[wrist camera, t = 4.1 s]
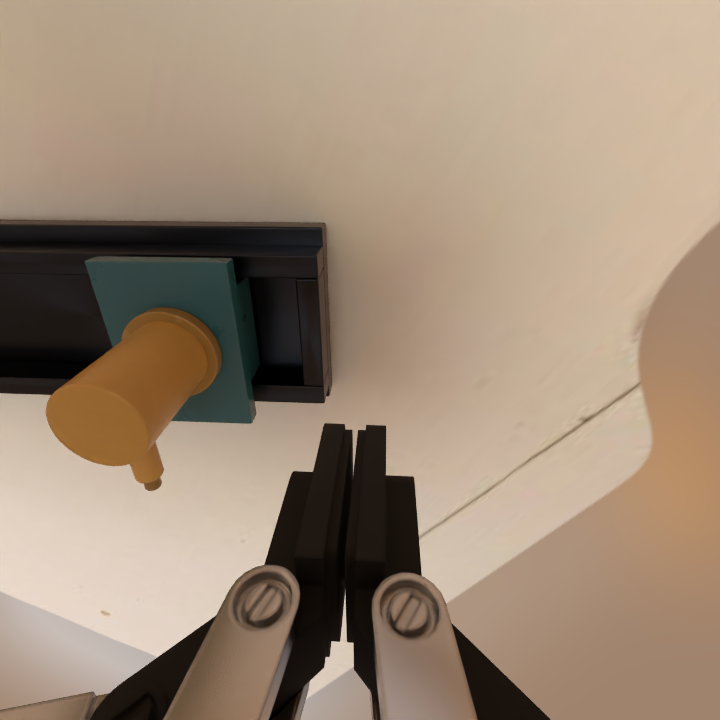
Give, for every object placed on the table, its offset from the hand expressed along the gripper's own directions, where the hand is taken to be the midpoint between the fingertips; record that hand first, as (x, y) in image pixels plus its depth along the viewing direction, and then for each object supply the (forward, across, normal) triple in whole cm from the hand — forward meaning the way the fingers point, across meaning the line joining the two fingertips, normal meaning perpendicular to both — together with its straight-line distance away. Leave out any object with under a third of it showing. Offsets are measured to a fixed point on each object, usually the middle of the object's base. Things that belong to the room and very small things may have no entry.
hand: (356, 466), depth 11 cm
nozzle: (+10, +8, 0) cm, 13 cm away
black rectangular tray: (+11, +14, 0) cm, 18 cm away
